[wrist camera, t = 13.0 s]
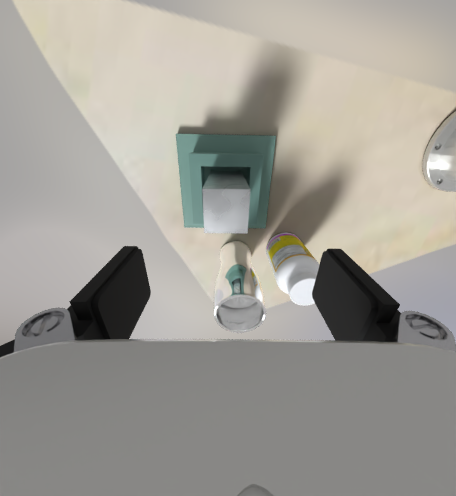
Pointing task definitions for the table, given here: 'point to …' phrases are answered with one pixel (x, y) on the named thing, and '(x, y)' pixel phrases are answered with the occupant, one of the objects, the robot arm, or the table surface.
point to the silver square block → (226, 202)
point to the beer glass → (238, 290)
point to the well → (225, 159)
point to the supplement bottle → (293, 267)
